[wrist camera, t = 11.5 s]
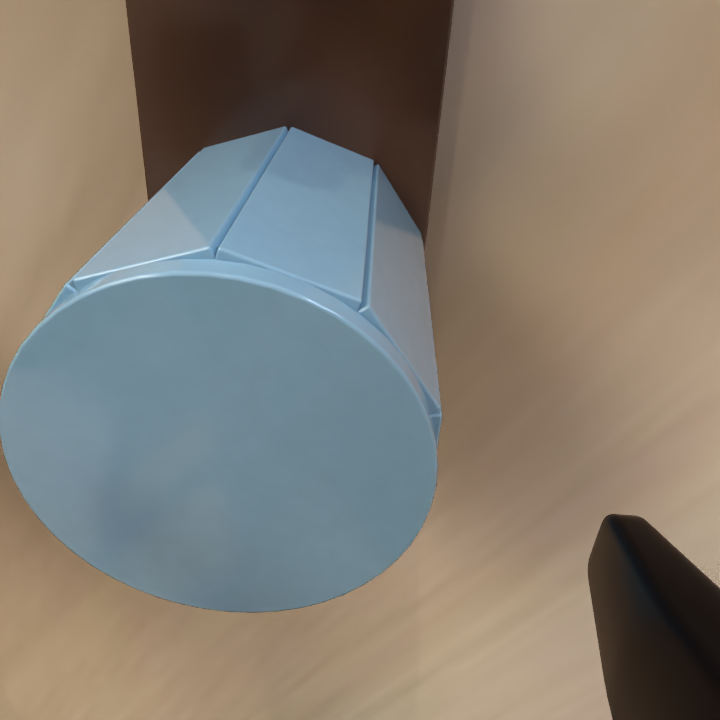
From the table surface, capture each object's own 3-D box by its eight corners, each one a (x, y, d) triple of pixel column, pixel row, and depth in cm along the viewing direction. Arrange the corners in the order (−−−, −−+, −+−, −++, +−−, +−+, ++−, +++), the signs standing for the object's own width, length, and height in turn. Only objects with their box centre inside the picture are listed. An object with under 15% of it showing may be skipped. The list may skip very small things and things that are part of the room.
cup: (434, 136, 15) (470, 281, 8) (405, 388, 19) (413, 632, 12) (142, 116, 15) (-61, 243, 8) (171, 371, 19) (46, 604, 12)
